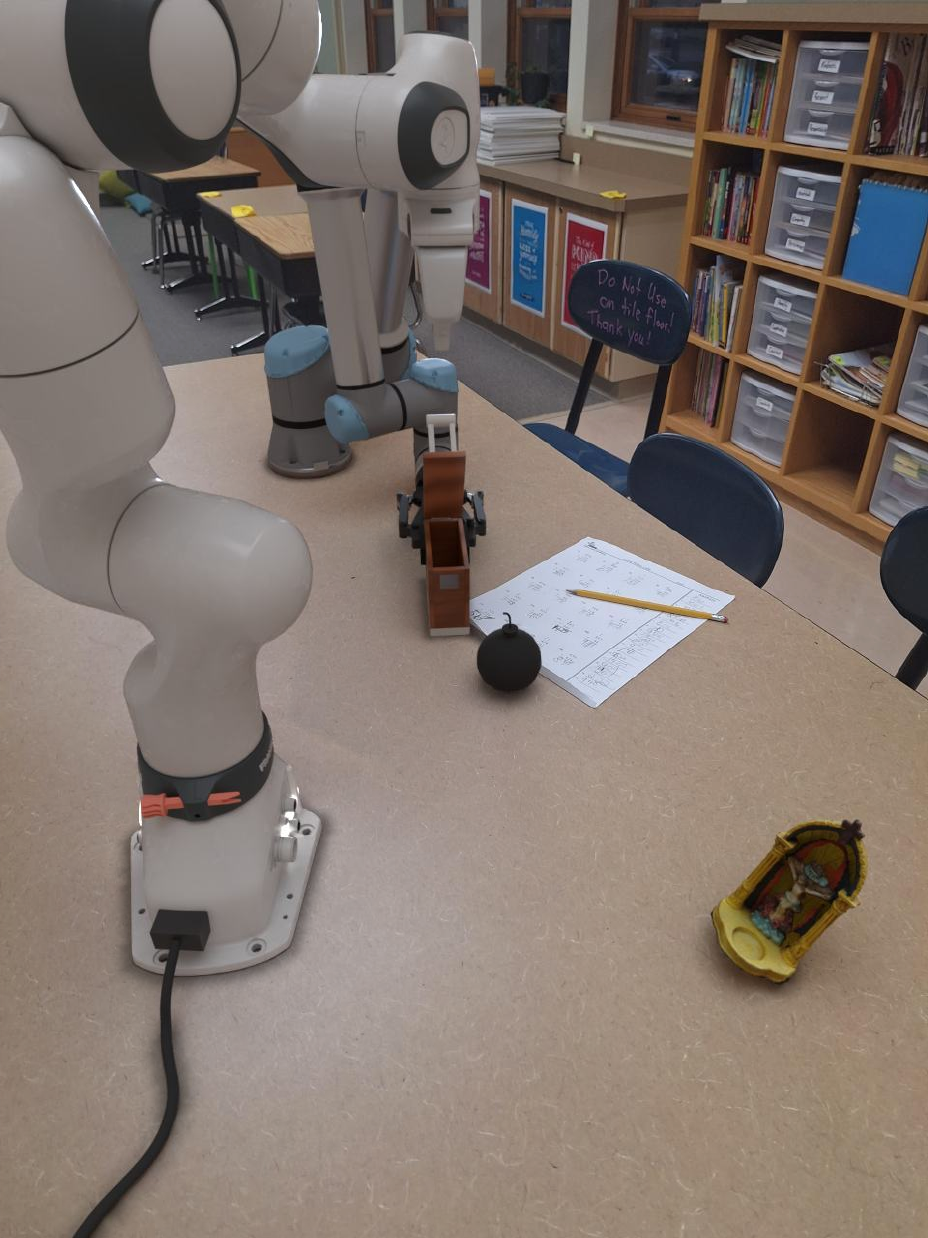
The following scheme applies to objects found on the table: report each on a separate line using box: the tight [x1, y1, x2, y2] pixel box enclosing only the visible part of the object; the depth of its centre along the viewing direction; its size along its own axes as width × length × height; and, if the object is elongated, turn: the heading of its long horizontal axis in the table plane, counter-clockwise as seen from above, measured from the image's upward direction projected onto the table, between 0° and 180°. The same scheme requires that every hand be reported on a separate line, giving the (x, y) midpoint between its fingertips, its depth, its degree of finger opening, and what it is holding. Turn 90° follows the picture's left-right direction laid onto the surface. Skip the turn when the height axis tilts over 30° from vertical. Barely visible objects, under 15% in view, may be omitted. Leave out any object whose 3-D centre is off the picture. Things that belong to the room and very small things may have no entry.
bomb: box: [476, 611, 543, 694], centre depth 103 cm, size 8×8×12 cm
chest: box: [424, 518, 471, 637], centre depth 117 cm, size 13×5×10 cm, turn 4°
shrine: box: [710, 818, 868, 986], centre depth 72 cm, size 12×8×15 cm
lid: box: [423, 414, 467, 519], centre depth 115 cm, size 14×5×9 cm
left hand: (440, 340), depth 101 cm, fingers open, 5 cm apart
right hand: (445, 555), depth 118 cm, fingers closed on chest, 5 cm apart
